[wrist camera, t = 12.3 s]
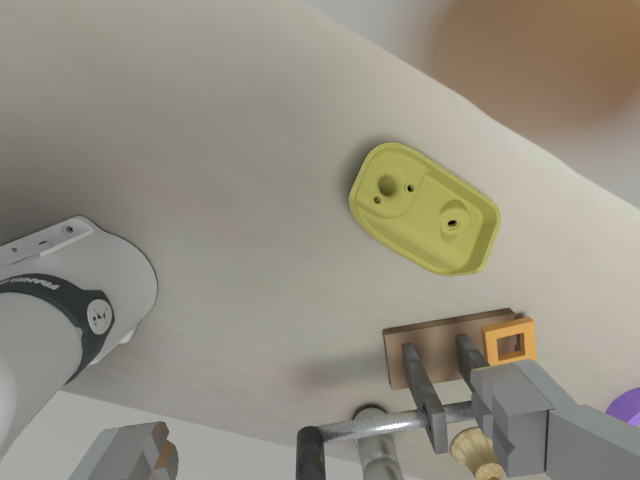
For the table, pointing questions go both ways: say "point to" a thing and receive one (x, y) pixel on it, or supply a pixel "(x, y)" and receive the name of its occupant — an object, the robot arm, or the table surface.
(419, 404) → the shaft frame
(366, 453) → the plastic bottle
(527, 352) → the frame
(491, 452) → the hand bell
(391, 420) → the shaft
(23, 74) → the table surface
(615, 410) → the masking tape
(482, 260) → the plastic component
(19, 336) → the robot arm
